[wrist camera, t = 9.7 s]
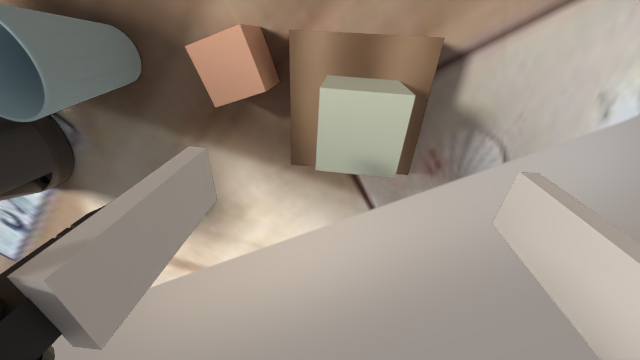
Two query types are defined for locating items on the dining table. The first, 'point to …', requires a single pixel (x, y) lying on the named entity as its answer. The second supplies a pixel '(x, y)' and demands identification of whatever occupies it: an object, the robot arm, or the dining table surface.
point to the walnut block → (356, 61)
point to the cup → (58, 62)
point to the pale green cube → (362, 125)
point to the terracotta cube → (234, 64)
